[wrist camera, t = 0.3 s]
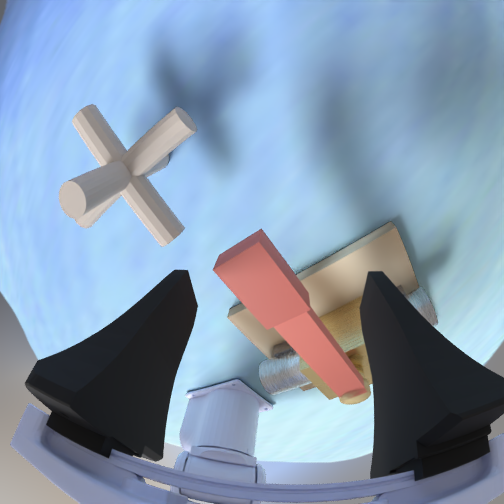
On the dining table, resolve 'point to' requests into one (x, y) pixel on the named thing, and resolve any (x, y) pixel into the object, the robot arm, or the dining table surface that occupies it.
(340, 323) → the ball valve
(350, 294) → the mounting board
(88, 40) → the dining table surface
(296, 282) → the lever
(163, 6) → the dining table surface
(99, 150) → the pipe connector
